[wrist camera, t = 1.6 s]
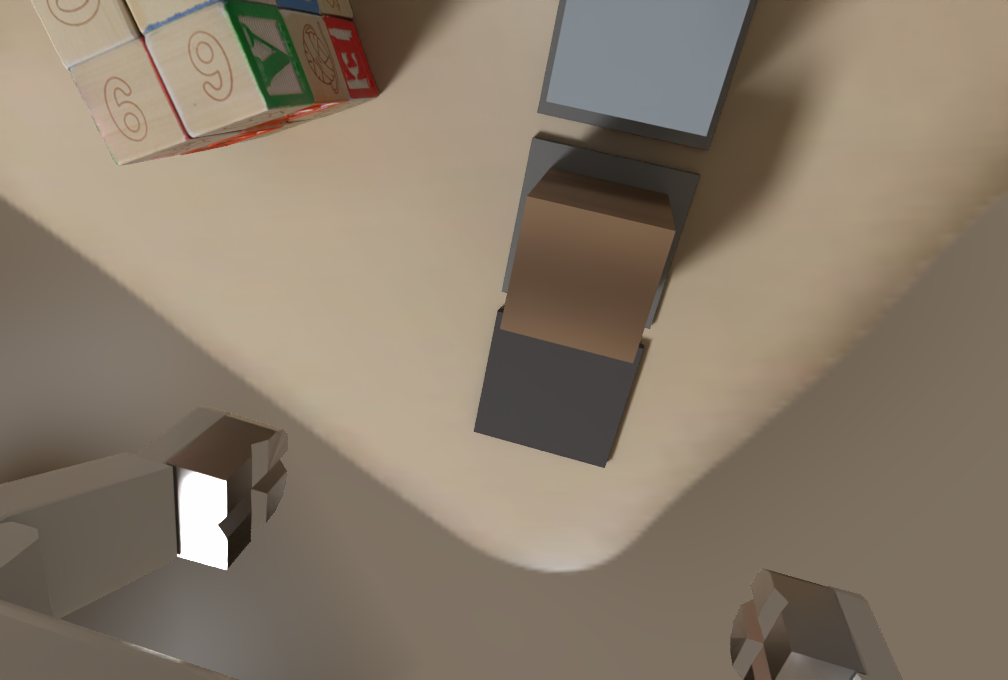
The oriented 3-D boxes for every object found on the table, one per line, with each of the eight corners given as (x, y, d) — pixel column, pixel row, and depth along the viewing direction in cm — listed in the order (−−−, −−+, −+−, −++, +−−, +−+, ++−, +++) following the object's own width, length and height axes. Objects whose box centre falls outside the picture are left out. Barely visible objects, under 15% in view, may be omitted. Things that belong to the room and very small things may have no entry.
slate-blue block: (598, -54, 22) (585, -91, 17) (736, -28, 22) (768, -57, 16) (566, 91, 24) (546, 101, 19) (691, 119, 24) (706, 136, 18)
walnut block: (550, 167, 26) (526, 196, 20) (668, 194, 25) (675, 231, 20) (526, 277, 28) (499, 328, 23) (634, 303, 27) (632, 363, 22)
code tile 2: (578, -90, 22) (577, -92, 22) (773, -54, 21) (775, -56, 21) (538, 112, 25) (537, 112, 25) (707, 149, 24) (708, 150, 24)
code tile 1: (533, 137, 26) (532, 138, 25) (699, 174, 25) (699, 175, 25) (503, 289, 29) (501, 291, 28) (649, 326, 28) (649, 329, 28)
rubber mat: (499, 308, 29) (497, 311, 29) (643, 345, 28) (643, 349, 28) (475, 427, 32) (473, 431, 32) (605, 463, 32) (604, 468, 31)
